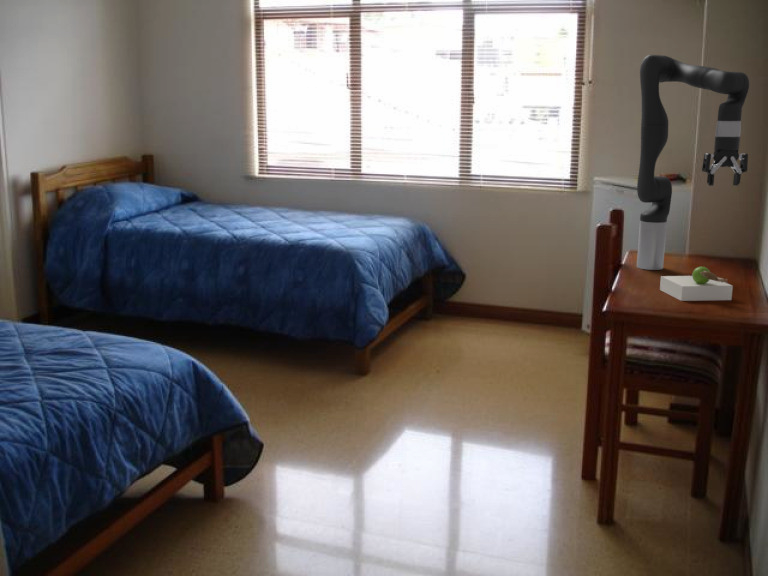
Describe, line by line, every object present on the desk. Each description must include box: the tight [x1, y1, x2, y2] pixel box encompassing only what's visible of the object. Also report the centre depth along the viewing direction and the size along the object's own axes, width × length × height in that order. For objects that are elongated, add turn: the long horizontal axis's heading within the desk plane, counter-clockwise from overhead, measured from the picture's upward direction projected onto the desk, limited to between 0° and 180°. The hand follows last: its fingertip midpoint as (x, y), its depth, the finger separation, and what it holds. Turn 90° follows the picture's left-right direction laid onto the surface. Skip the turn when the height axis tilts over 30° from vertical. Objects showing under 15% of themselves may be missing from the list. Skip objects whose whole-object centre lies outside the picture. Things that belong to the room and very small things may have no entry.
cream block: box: [659, 275, 734, 302], centre depth 258 cm, size 16×16×5 cm
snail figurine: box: [691, 266, 728, 284], centre depth 250 cm, size 5×6×12 cm
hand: (723, 185), depth 268 cm, fingers open, 8 cm apart
